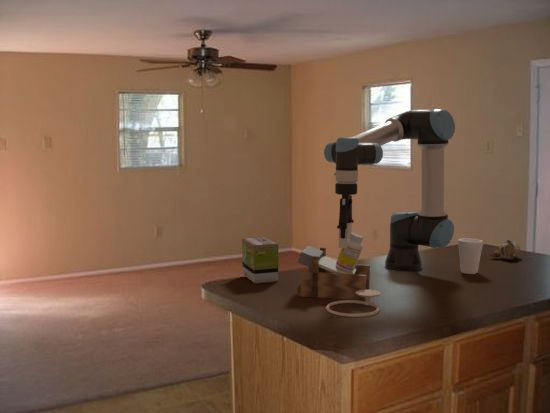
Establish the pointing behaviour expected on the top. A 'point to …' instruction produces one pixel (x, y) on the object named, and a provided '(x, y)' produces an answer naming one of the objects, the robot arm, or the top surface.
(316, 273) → the frame
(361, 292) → the hand towel holder
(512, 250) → the ceramic sculpture
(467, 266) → the foam cup
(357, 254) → the supplement bottle
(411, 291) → the top surface
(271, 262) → the tea box
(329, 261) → the trapdoor
